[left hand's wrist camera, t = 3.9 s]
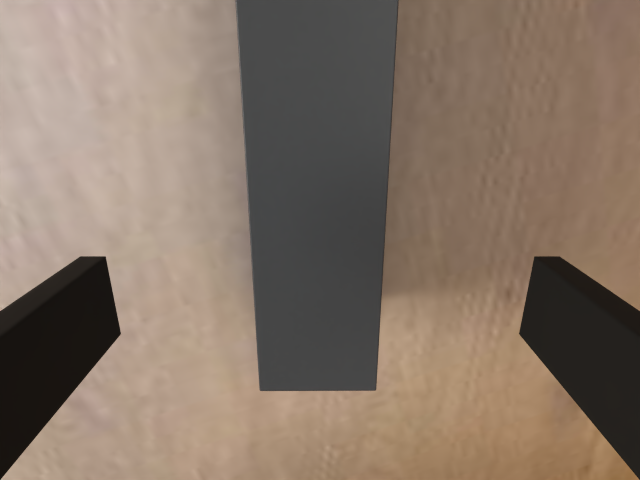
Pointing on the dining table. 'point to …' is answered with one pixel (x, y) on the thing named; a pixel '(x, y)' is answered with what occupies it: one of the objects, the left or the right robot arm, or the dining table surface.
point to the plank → (317, 184)
